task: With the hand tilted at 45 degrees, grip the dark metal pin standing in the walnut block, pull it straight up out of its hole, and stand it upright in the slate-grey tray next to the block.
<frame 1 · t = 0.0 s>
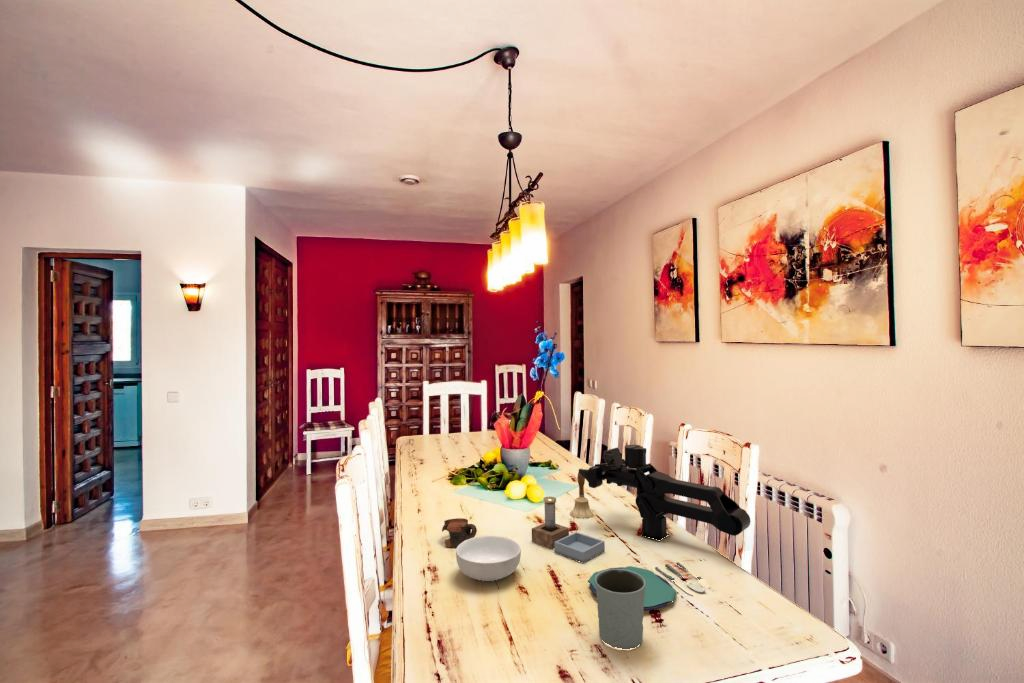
hand: (587, 468, 169), 17 cm above the table, tool horizontal, fingers open, 9 cm apart
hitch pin: (550, 520, 148), in the walnut block
grey cylindrical pot: (621, 639, 99), on the table
slate tray: (579, 552, 140), on the table
cereal bowl: (488, 575, 128), on the table
walnut block: (550, 541, 148), on the table
hand bell: (581, 515, 171), on the table
cutlery set: (649, 591, 119), on the table
brown clay jug: (459, 543, 149), on the table
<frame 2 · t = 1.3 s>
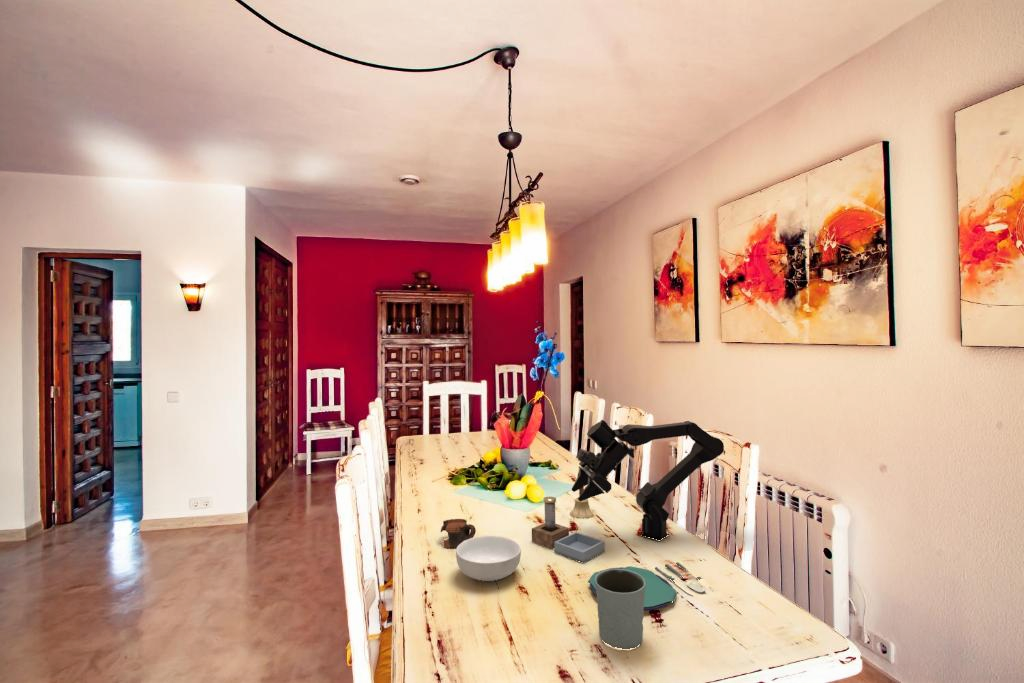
hand: (575, 495, 149), 14 cm above the table, tool tilted 45°, fingers open, 9 cm apart
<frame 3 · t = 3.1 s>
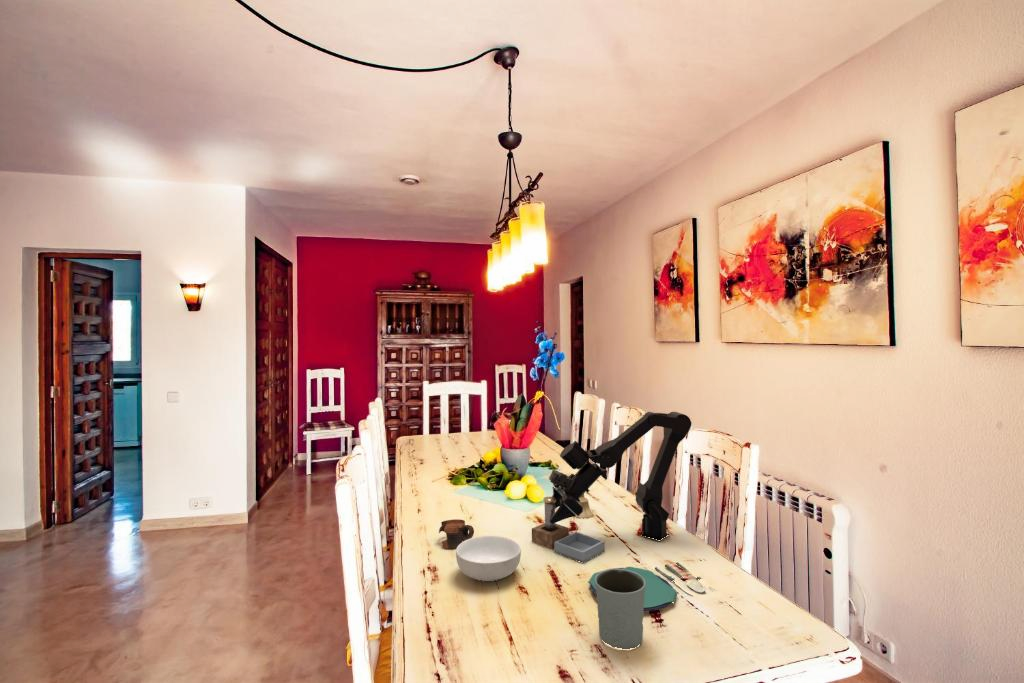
hand: (548, 517, 148), 7 cm above the table, tool tilted 45°, fingers open, 9 cm apart
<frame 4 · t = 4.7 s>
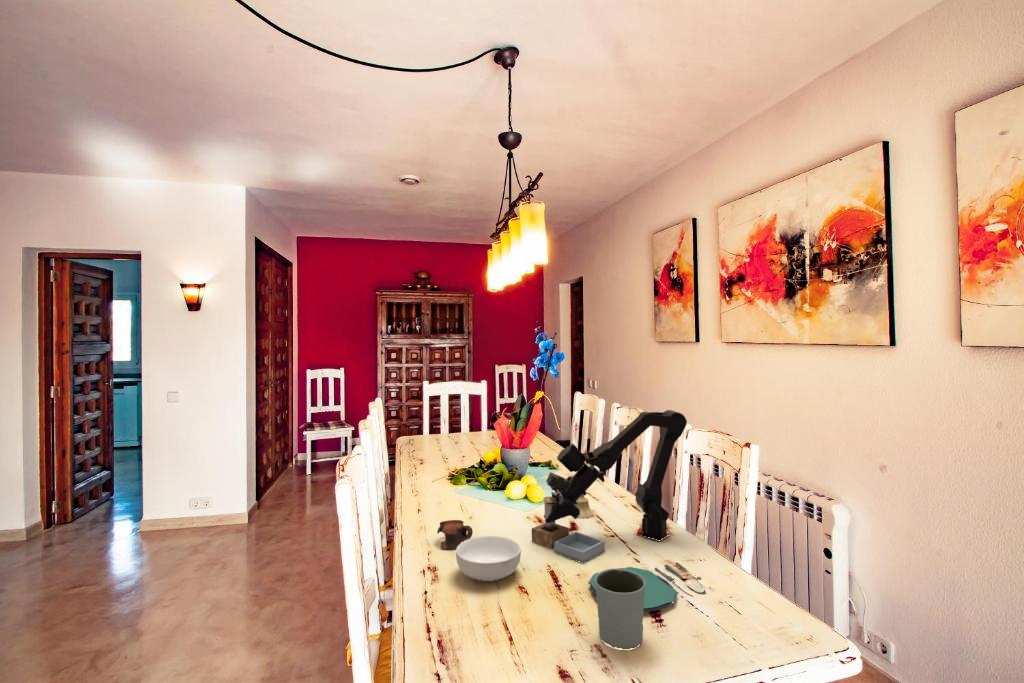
hand: (545, 519, 148), 7 cm above the table, tool tilted 45°, fingers closed on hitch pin, 3 cm apart
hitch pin: (550, 520, 148), in the walnut block, touching gripper
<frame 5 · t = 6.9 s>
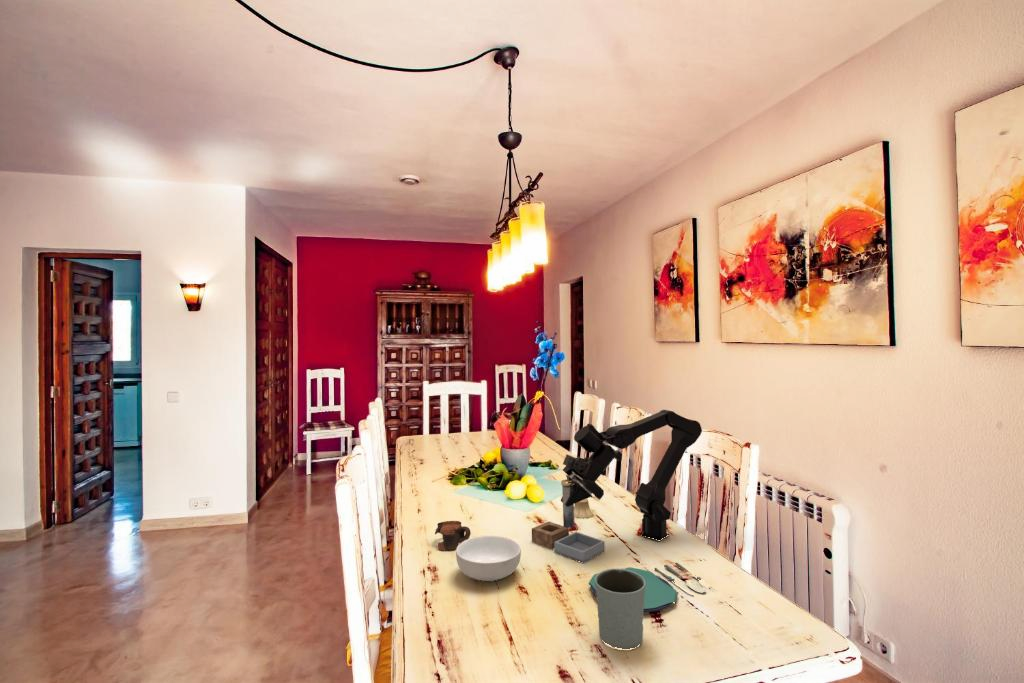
hand: (563, 503, 142), 13 cm above the table, tool tilted 45°, fingers closed on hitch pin, 3 cm apart
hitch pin: (568, 503, 143), point 13 cm above the table, touching gripper
when the fingers open (8 cm above the table, at t = 9.0 s): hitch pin drops 1 cm, resting on slate tray.
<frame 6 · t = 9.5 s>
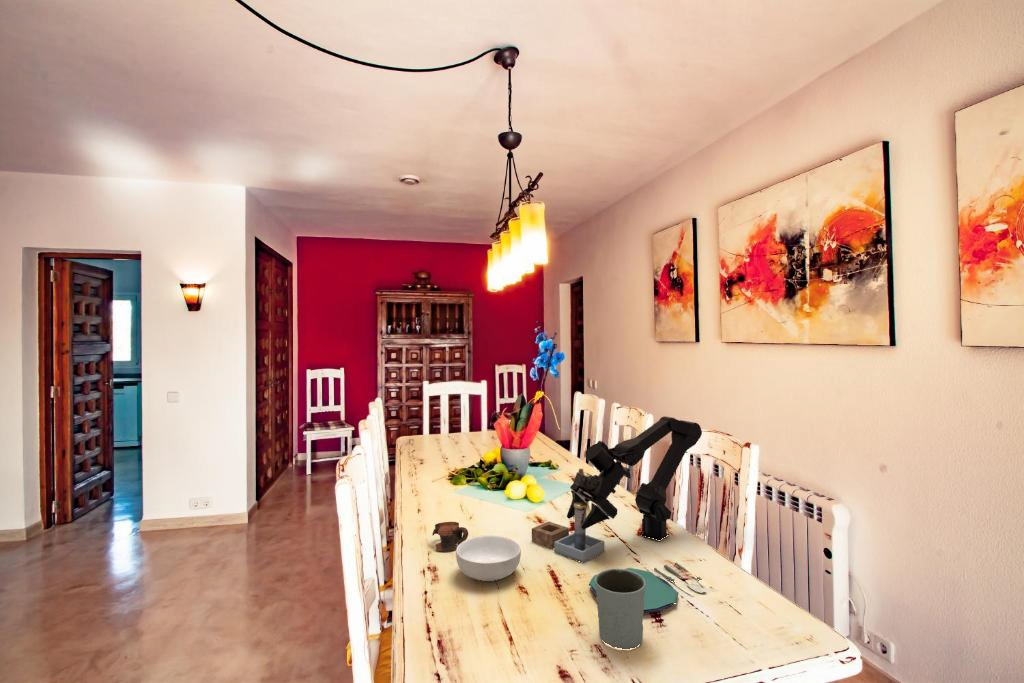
hand: (574, 522, 140), 9 cm above the table, tool tilted 45°, fingers open, 9 cm apart
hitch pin: (580, 526, 141), in the slate tray, point 7 cm above the table
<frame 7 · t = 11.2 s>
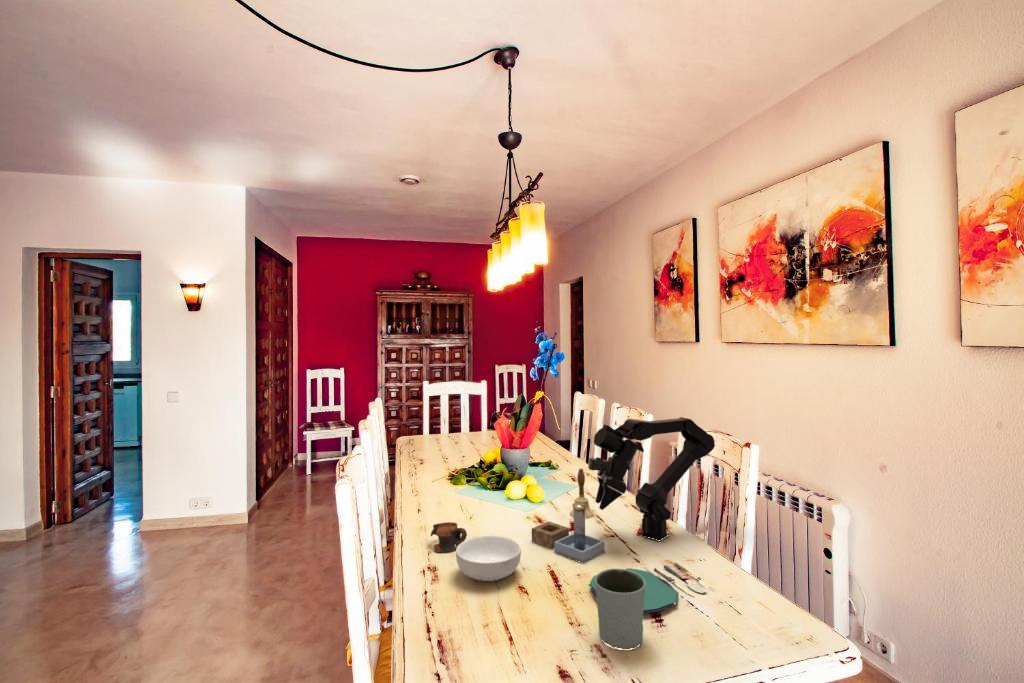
hand: (598, 505, 146), 11 cm above the table, tool tilted 30°, fingers open, 9 cm apart
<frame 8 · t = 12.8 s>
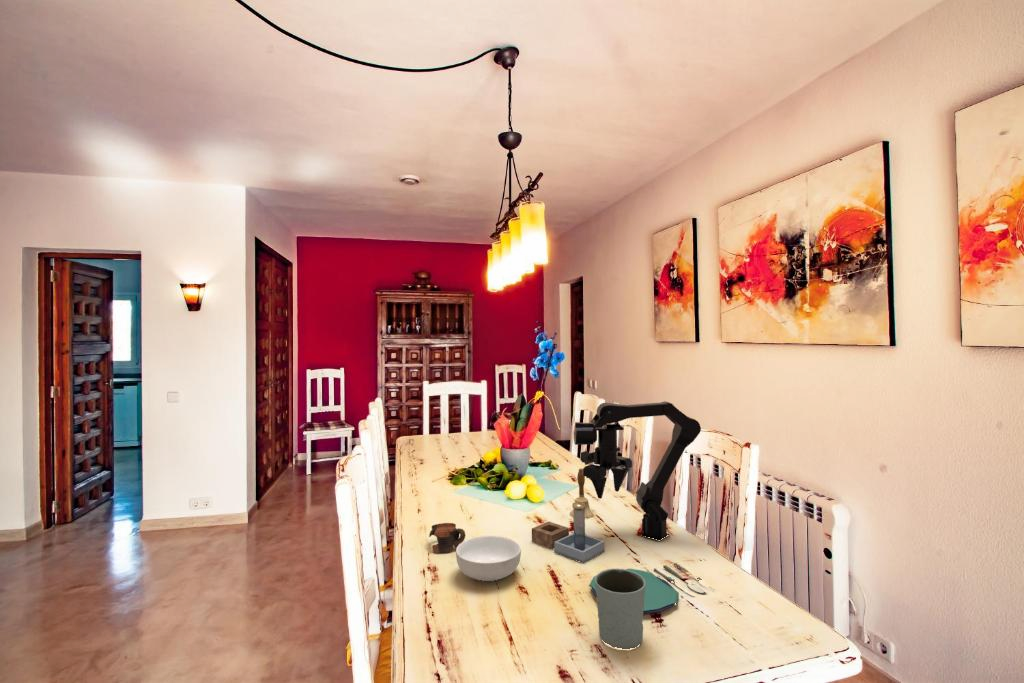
hand: (608, 494, 151), 13 cm above the table, tool pointing down, fingers open, 9 cm apart
at the end: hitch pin 0.1 cm off-centre on the slate tray, point 7.1 cm above the slate tray's base; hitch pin tilted 0°; the gripper is holding nothing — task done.
